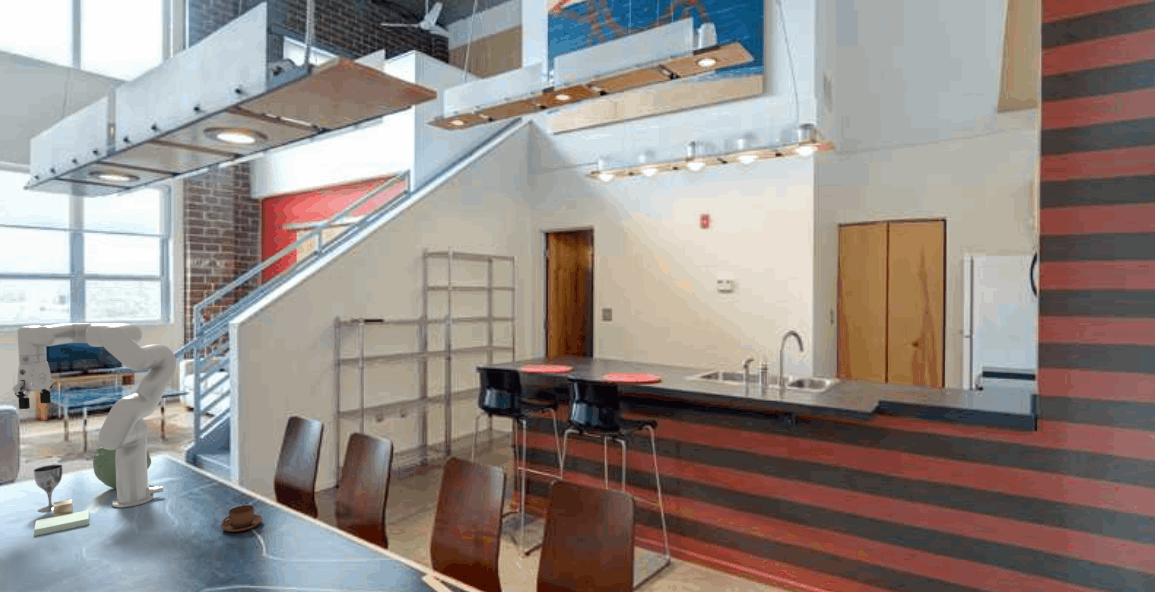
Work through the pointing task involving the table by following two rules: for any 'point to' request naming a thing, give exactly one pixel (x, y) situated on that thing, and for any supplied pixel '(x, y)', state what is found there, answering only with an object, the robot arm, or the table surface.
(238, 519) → the cup and saucer
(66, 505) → the birch cube
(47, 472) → the wine glass
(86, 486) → the table surface
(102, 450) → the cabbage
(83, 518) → the sage board
